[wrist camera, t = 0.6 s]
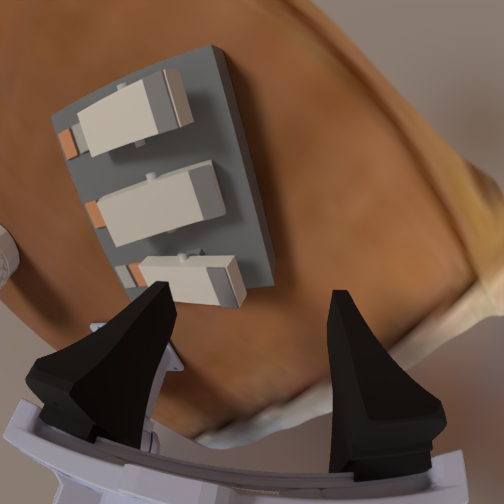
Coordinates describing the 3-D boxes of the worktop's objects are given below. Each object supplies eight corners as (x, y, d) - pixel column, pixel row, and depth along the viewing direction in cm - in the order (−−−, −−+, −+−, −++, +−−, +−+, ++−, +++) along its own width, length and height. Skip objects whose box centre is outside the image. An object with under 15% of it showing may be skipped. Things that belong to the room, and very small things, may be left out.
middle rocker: (123, 243, 18) (118, 253, 17) (100, 190, 17) (93, 197, 15) (226, 211, 18) (228, 220, 17) (209, 152, 17) (209, 157, 15)
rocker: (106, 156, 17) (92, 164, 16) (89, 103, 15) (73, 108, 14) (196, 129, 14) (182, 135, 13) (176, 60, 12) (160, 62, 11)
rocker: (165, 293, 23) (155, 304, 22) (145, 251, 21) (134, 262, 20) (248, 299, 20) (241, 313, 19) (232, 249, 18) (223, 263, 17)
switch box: (144, 278, 26) (128, 305, 23) (76, 108, 18) (45, 118, 15) (276, 260, 24) (274, 290, 21) (222, 49, 16) (208, 43, 13)
